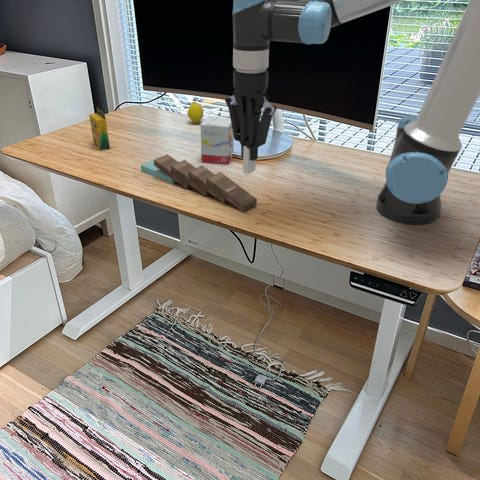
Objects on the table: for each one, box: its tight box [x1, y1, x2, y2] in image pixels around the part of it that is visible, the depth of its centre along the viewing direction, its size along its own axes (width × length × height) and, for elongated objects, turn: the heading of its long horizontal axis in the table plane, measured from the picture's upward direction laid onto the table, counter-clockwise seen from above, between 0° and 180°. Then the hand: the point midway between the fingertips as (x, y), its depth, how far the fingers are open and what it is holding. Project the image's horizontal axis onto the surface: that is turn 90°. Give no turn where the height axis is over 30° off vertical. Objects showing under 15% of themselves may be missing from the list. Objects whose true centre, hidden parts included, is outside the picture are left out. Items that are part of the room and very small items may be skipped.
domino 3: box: [171, 159, 211, 197], centre depth 130 cm, size 2×5×13 cm
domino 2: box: [153, 153, 193, 190], centre depth 133 cm, size 2×5×13 cm
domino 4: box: [188, 165, 229, 205], centre depth 126 cm, size 2×5×13 cm
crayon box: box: [88, 107, 111, 151], centre depth 153 cm, size 7×3×12 cm, turn 33°
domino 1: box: [140, 159, 177, 184], centre depth 137 cm, size 2×5×13 cm
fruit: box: [187, 101, 204, 124], centre depth 174 cm, size 6×6×8 cm
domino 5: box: [206, 172, 258, 213], centre depth 123 cm, size 2×5×13 cm
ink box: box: [199, 115, 235, 165], centre depth 145 cm, size 9×9×12 cm
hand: (249, 171), depth 116 cm, fingers closed
